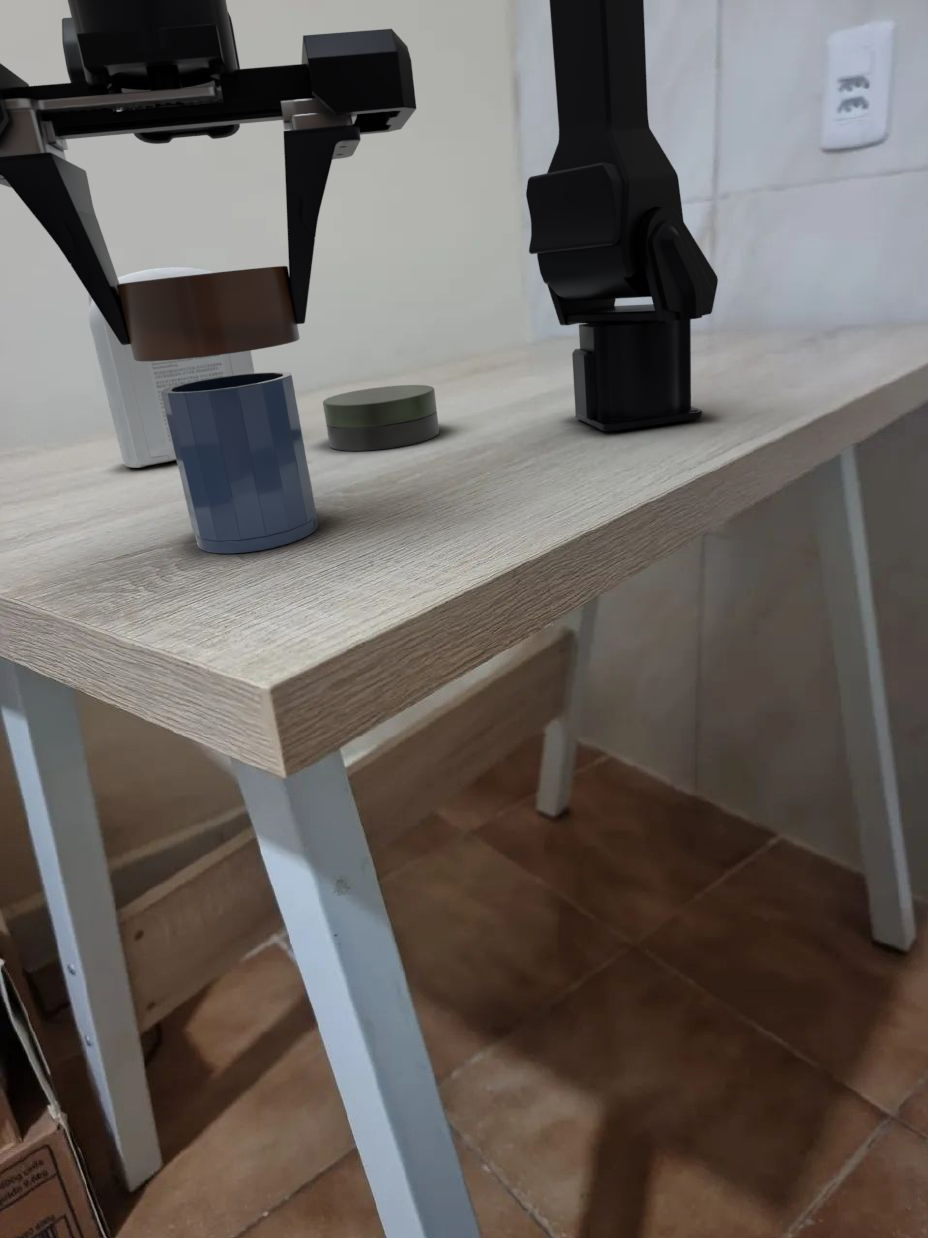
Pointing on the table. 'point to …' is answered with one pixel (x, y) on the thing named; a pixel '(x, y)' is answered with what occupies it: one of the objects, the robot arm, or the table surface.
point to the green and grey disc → (381, 417)
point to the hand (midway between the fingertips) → (216, 333)
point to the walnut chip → (208, 313)
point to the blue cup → (242, 461)
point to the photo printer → (150, 381)
